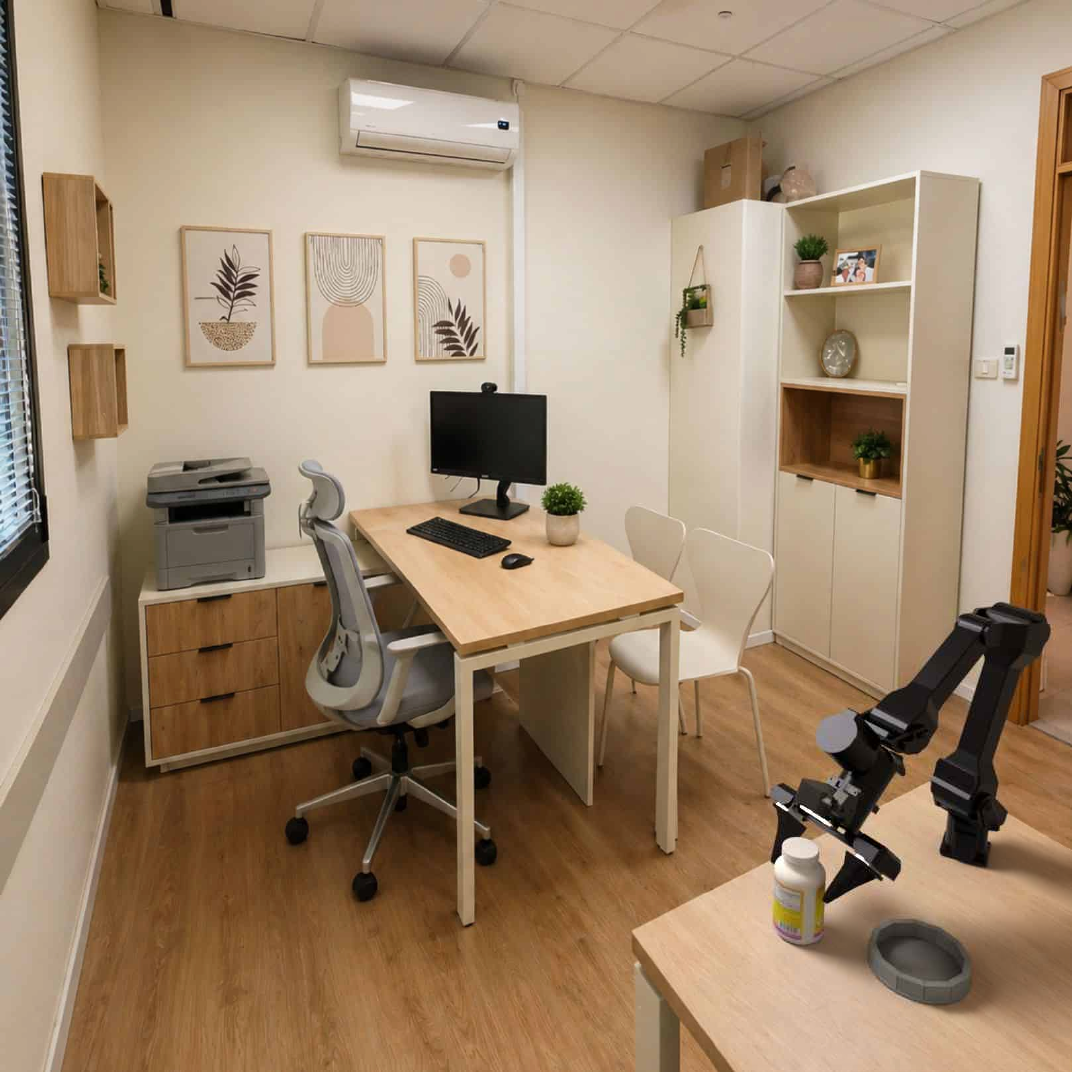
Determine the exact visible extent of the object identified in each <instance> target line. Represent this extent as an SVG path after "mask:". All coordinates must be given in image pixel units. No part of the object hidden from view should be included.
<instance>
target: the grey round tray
mask: <svg viewBox="0 0 1072 1072" xmlns="http://www.w3.org/2000/svg"><path fill="white" fill-rule="evenodd" d="M869 936H870V937H869V939H868V943H867V944H868V945H867V955H866V956H867V957H866V958H867V962H868V965H869V968H870V971H872V973H873V974H874V976H875V978H876V979H878V980H879V982H880V983H882V984H883V985H884V986H885V987H886V988H888V989H889V990H890V991H892V992H894V994H897V995H899V996H901V997H903V998H905V999H907V1000H910V1001H913V1002H915V1003H920V1004H925V1005H931V1006H945V1005H951V1004H954V1003H957V1002H959V1001H961V1000H963V999H964V998H965V997H966V996H967V995H968V994H969V992H970V989H971V986H972V966H973V965H972V964H973V959H972V958H971V956H970V955H969V953H968V951H967V949H966V948H965V947H964V945H963V943H962V942H961V941H960V940H959V939H957V938H956V937H954V936H953V935H951V934H950V933H948V931H946V930H944V929H943V928H942V927H940V926H937V925H934V924H931V923H928V922H925V921H922V920H919V919H916V918H889V919H886V920H885V921H883V922H881V923H878V924H877V925H874V926H873V928H872V931H871V933H870V935H869Z"/></svg>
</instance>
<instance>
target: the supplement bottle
mask: <svg viewBox="0 0 1072 1072" xmlns="http://www.w3.org/2000/svg"><path fill="white" fill-rule="evenodd" d="M773 865H774V864H773ZM826 873H827V872H826V869H825V867H824V865H823V864H822V862H820V848H819V846H818V845H817V844H816V843H815V842H813V841H812V840H810V839H807V838H806V837H805V838H804V837H793V838H789V839H787V840H785V841H784V842H783V845H782V856H780V857H779V858H778V859H777V860H776V862H775V865H774V866H773V891H772V892H773V893H772V895H773V898H772V926H773V929H774V931H775V932H776V933H777V934H778V936H779V937H781V938H782V939H783V940H785V941H787V942H790V943H792V944H795V945H811V944H813V943H817V942H818V941H819V940H820V939H821V938H822V936H823V933H824V928H825V907H826V906H825V904H826V903H825V902H823V901H822V898H823V896H824V894H825V892H826V882H827V881H826V880H827V874H826Z"/></svg>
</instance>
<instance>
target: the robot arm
mask: <svg viewBox="0 0 1072 1072" xmlns="http://www.w3.org/2000/svg"><path fill="white" fill-rule="evenodd" d="M953 627H954V628H953V629H952V630H951V632H950V633H949V634H948V635H947V637H946V638H945V639H944V641H943V642H942V643H941V644H940V645H939V646H938V648H937V649H936V651H935V652H933V654H932V655H931V656H930V658H929V659H928V660H927V661H926V662H925V664H924V665H923V666H922V668H920V670H919V671H918V672H917V674H916V675H915V676H914V677H913V678H912V680H910V682H909V683H908V684H907V685H906V686H903V687H900V688H899V689H898V688H897V689H896V690H893V691H890V692H889V693H887V695H885V696H884V697H883V698H882V699H881V700H880V701H879V702H878V703H877V704H876V705H875V706H874V707H871V708H870V709H867V710H865V711H863V712H861V713H860V712H858V711H856V710H854V709H852V708H850V707H846V708H845V710H844V711H843V713H836V714H832V715H830V716H828V717H826V718H825V719H824V720H822V721H820V722H819V724H818V726H817V727H816V730H815V736H814V737H815V742H816V744H817V746H818V747H819V749H821V750H822V751H823V753H825V754H826V755H827V756H829V758H831V760H832V761H833V762H834V763H836V764H837V765H838V767H840V768H841V769H842V770H841V772H840V773H839V775H838V776H836V775H835V774H832V775H831V776H829V777H828V778H827V780H826V781H825V782H823V781H821V780H815V779H810V778H806V777H802V778H801V780H800V783H799V785H798V788H797V790H796V789H794V788H792V787H791V786H789V785H788V784H786V783H785V782H781V783H779V784H776V785H775V786H774V787H773V788H772V790H771V791H770V792H769V794H768V797H769V798H771V799H772V800H773V802H772V807H773V808H774V809H775V810H776V815H777V829H776V834H775V838H774V843H773V846H772V847H773V848H772V852H771V856H770V863H771V864H772V865H775V862H776V860H777V859H778V858H779V857H780V856H782V845H783V842H784V841H785V840H787V839H789V838H793V837H800V838H802V836H803V834H804V833H805V832H806V831H807V829H808V827H807V826H806V825H804V824H803V823H805V822H811V823H813V824H814V825H815V826H817V827H819V828H820V829H822V830H824V831H825V832H826V833H827V834H829V835H831V836H832V837H834V838H835V839H837V840H838V841H840V842H841V843H843V844H845V846H847V847H849V848H851V849H852V850H853V851H854V853H855V854H853V853H851V852H850V851H848V850H845V853H844V859H843V864H842V866H841V868H840V869H839V870H838V872H837V873H836V875H835V876H834V878H833V879H832V881H831V882H830V884H829V885H828V886H827V888H826V889H825V894H824V896H823V898H822V901H823V902H825V904H826V905H828V904H830V903H831V902H833V901H835V900H837V899H839V898H840V897H842V896H843V895H845V894H847V893H849V892H850V891H853V890H854V889H856V888H858V887H860V886H863V885H865V884H867V883H870V882H871V881H874V880H878V881H879V882H883V880H884V878H883V876H884V877H886V878H888V879H889V880H890V881H892V882H895V881H896V879H897V878H898V876H899V874H900V873H901V872H902V862H901V861H902V860H901V859H900V858H899V857H898V856H897V855H896V854H895V853H894V852H893V851H891V850H890V849H889V848H888V847H887V846H885V845H884V844H882V843H881V842H879V841H877V840H876V839H874V838H873V837H871V836H870V835H868V834H866V833H864V832H863V831H861V828H862V826H863V825H864V824H865V822H866V820H867V819H868V817H869V816H870V814H871V813H872V814H874V815H877V813H879V811H880V809H881V808H880V807H879V806H878V805H877V803H878V801H879V800H880V799H881V797H882V796H883V794H884V792H885V790H887V788H888V786H889V784H890V783H891V781H892V780H893V778H894V776H895V775H896V774H897V775H899V777H905V776H906V773H907V772H906V767H905V764H904V756H903V755H901V754H904V755H907V756H911V755H918V754H920V753H921V752H922V751H923V750H925V749H926V748H927V747H928V746H929V743H930V742H931V739H932V738H933V736H934V734H935V733H936V731H937V730H938V728H939V712H940V710H941V709H942V708H943V706H944V704H945V703H946V702H947V701H948V699H949V698H950V696H951V695H952V694H953V693H954V692H955V690H956V689H957V688H958V687H959V685H960V684H961V683H962V682H963V680H964V679H965V678H966V677H967V675H968V674H969V673H970V672H971V670H973V668H974V666H975V665H976V664H977V663H978V661H979V660H980V659H981V658H982V657H983V658H984V659H983V664H982V666H981V671H980V674H979V677H978V680H977V683H976V686H975V689H974V692H973V695H972V697H971V698H972V699H971V702H970V706H969V707H968V708H969V709H968V712H967V715H966V718H965V721H964V724H963V728H962V731H961V734H960V738H959V739H958V743H957V746H956V749H955V750H954V751H952V752H951V753H950V754H949V755H948V756H946V757H945V758H944V757H939V758H938V759H937V760H936V762H935V766H934V771H933V774H932V776H931V777H930V779H929V782H930V793H931V794H932V799H933V802H934V805H935V807H938V808H941V809H943V810H944V811H946V812H947V818H946V828H945V831H944V833H943V837H942V840H941V843H940V847H939V852H938V854H940V855H942V856H945V857H947V858H948V857H949V858H953V859H956V860H959V861H964V862H967V863H969V864H973V865H976V866H977V865H978V866H980V867H985V868H986V867H988V864H989V863H988V862H989V857H990V852H991V847H992V842H990V841H988V839H989V833H990V832H995V833H996V832H1000V829H1001V826H1003V825H1004V824H1005V822H1006V820H1007V816H1008V813H1009V810H1008V809H1006V807H1005V806H1004V805H1002V804H1001V802H1000V801H999V800H998V799H997V793H998V788H999V780H998V777H997V774H996V769H995V766H994V758H995V755H996V752H997V750H998V749H997V748H998V745H999V742H1000V739H1001V736H1002V733H1003V730H1004V728H1005V723H1006V721H1007V717H1008V715H1009V712H1010V708H1011V704H1012V702H1013V699H1014V696H1015V692H1016V689H1017V687H1018V683H1019V681H1020V677H1021V674H1022V671H1023V670H1025V668H1027V667H1028V666H1029V665H1030V664H1032V663H1033V662H1034V661H1036V660H1038V659H1039V658H1040V656H1041V654H1042V652H1043V650H1044V647H1045V644H1046V643H1047V642H1048V641H1049V640H1050V636H1051V634H1052V632H1051V630H1052V629H1051V625H1050V623H1048V619H1047V617H1046V616H1045V614H1044V613H1042V612H1038V611H1035V610H1031V609H1028V608H1025V607H1022V606H1018V605H1015V604H1011V603H1007V602H1004V601H998V602H996V603H994V604H993V605H992V606H984V607H976V608H973V610H972V612H967V613H966V612H965V613H962V614H960V615H959V616H957V618H956V620H955V622H954V625H953ZM839 828H840V829H842V830H843V831H844V833H842V832H841V831H840V830H838V829H839ZM882 875H883V876H882Z"/></svg>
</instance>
